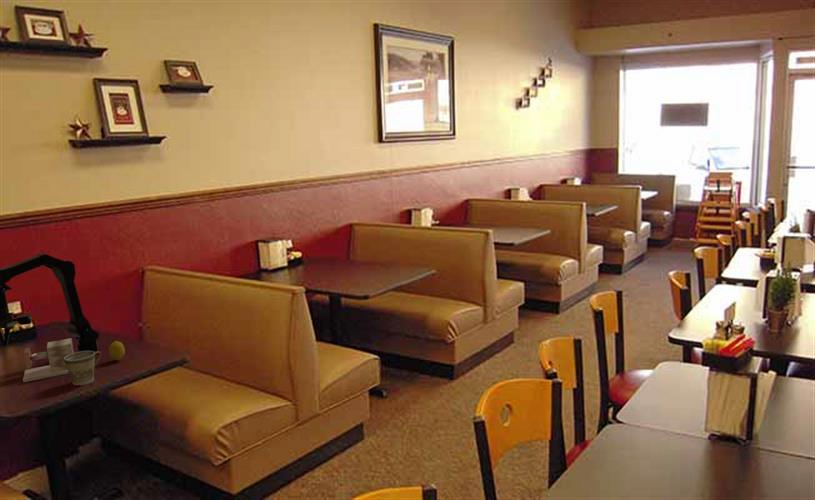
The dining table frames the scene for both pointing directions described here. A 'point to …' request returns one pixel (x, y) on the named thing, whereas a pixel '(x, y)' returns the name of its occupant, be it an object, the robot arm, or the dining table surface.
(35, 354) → the shaft
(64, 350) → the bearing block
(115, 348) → the lemon
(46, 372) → the mounting plate
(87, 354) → the ceramic cup
